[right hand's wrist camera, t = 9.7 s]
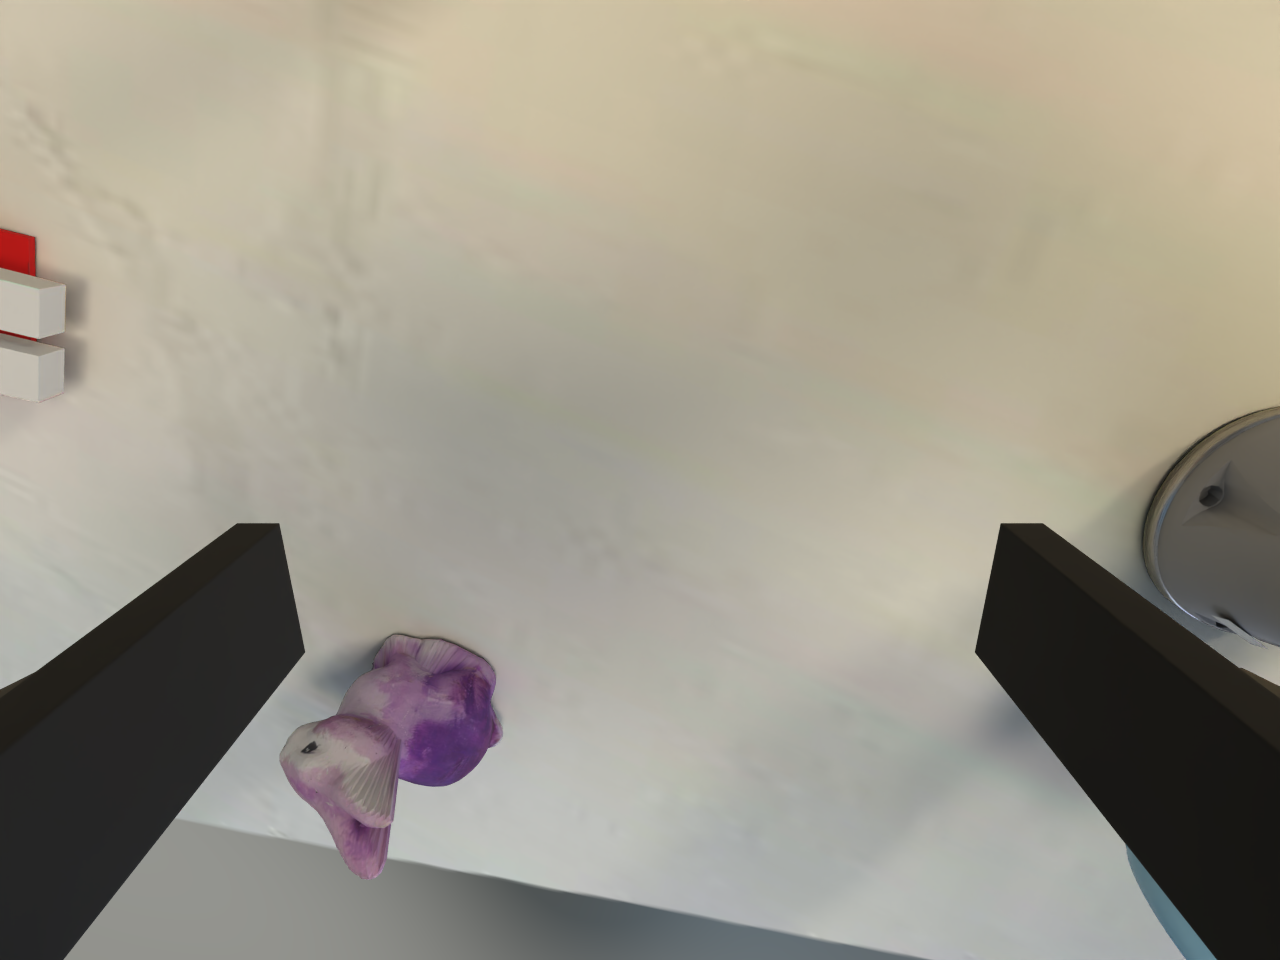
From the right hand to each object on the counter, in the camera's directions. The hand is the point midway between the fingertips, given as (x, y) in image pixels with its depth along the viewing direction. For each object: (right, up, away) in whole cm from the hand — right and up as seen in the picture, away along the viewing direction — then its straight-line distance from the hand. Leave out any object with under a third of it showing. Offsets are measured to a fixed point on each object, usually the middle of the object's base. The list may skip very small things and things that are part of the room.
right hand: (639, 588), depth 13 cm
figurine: (-15, -13, +37) cm, 42 cm away
